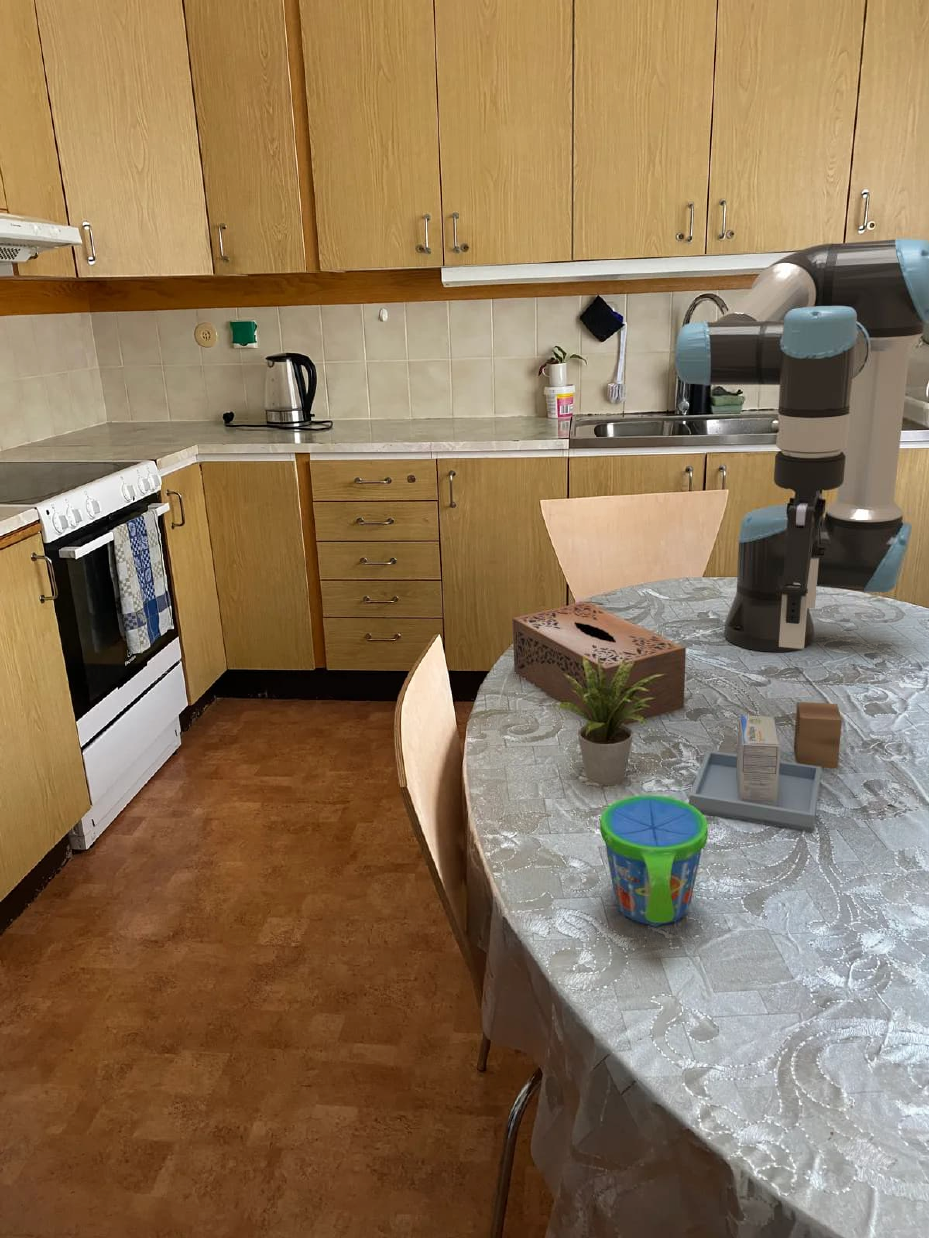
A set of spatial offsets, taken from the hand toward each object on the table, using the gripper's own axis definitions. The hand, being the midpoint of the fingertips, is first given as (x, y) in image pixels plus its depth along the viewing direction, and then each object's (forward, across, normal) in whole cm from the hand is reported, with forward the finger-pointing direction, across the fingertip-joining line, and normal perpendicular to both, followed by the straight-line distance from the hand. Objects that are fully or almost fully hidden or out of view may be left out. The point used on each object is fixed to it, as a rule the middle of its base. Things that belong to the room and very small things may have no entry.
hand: (797, 626), depth 113 cm
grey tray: (+20, +7, -3) cm, 22 cm away
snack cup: (+20, +32, -10) cm, 39 cm away
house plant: (+21, +9, -21) cm, 31 cm away
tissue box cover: (+22, -18, -31) cm, 42 cm away
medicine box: (+20, +7, -3) cm, 21 cm away
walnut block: (+21, -6, +3) cm, 22 cm away
